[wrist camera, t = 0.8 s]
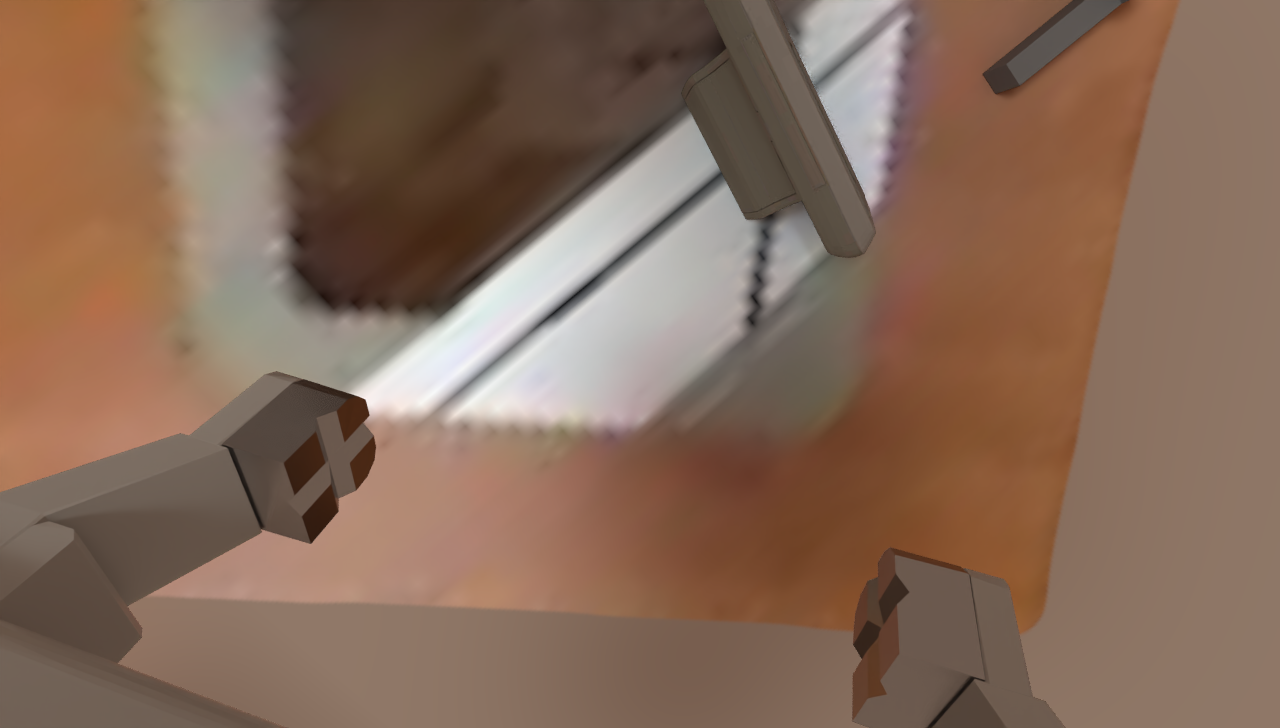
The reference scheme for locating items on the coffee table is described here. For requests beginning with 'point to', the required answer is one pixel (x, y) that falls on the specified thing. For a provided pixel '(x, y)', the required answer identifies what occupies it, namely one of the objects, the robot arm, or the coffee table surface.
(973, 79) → the coffee table surface
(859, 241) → the digital clock
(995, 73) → the dock
